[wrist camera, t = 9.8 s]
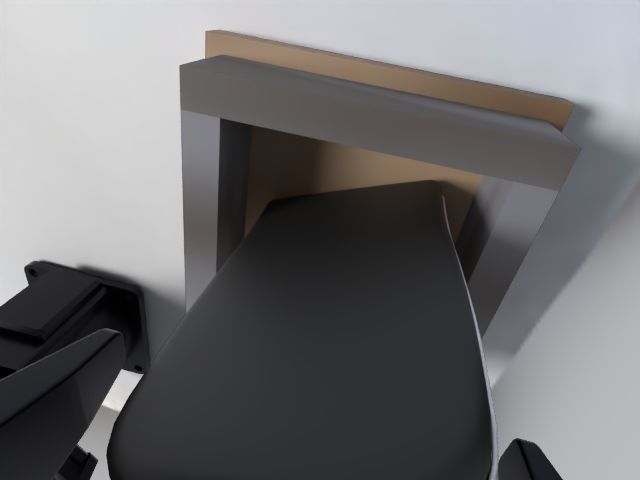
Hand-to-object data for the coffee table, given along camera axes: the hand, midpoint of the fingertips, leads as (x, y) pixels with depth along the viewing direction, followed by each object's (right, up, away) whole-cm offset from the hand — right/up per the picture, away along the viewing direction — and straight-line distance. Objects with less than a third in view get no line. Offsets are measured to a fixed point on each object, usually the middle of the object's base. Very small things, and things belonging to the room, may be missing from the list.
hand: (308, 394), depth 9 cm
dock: (+2, +5, +8) cm, 9 cm away
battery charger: (+2, +4, +7) cm, 8 cm away
